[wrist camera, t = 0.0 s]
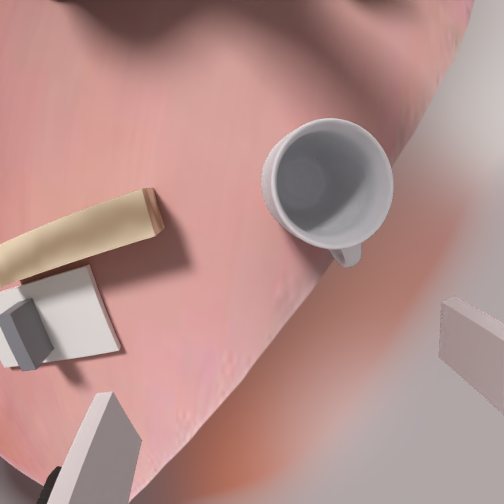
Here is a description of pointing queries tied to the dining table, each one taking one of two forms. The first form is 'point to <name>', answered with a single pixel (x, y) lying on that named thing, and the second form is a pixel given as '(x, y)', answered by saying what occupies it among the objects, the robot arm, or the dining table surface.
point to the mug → (329, 186)
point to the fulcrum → (54, 320)
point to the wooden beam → (81, 235)
